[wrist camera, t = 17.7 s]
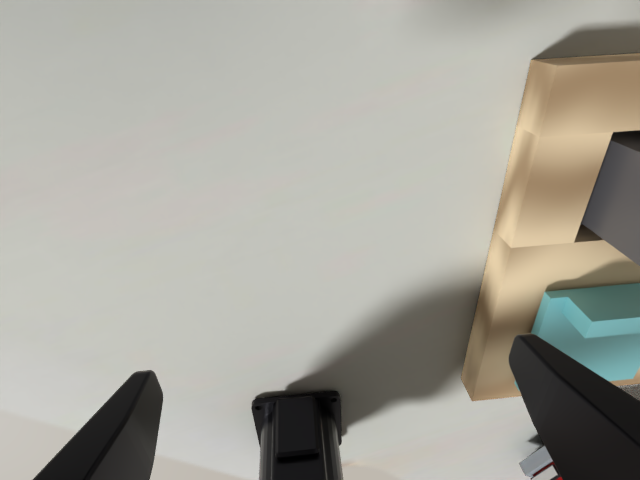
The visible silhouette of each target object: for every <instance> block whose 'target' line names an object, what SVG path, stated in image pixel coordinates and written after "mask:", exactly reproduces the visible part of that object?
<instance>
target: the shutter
mask: <svg viewBox="0 0 640 480" xmlns="http://www.w3.org/2000/svg"><path fill="white" fill-rule="evenodd" d="M531 333H532V334H535V335H537V336H538V337H540V338H542V339H543V340H545V341H546V342H548V343H549V344H551V345H553V346H554V347H556V348H557V349H559V350H560V351H562V352H564V353H565V354H567V355H568V356H570V357H571V358H573V359H575V360H576V361H578V362H579V363H581V364H582V365H584V366H586V367H587V368H589V369H590V370H592V371H593V372H595V373H596V374H598V375H600V376H601V377H603V378H604V379H606V380H607V381H616V380H626V379H633V378H634V376H635V374H636V373H637V371H638V369H639V367H640V283H634V284H623V285H612V286H601V287H590V288H580V289H569V290H558V291H547V292H544V295H543V298H542V301H541V304H540V307H539V310H538V313H537V316H536V319H535V322H534V325H533V328H532V331H531ZM514 384H515V385H516V387H517V389H518V390H519V388H518V385H517V383H516V380H515V382H514ZM519 391H520V390H519Z"/></svg>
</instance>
